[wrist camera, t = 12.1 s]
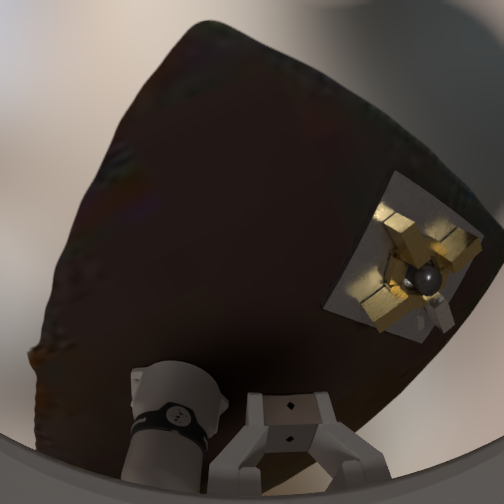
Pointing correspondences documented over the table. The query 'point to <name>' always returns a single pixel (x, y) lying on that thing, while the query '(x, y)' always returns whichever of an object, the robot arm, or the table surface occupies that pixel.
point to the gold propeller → (418, 253)
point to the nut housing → (382, 247)
